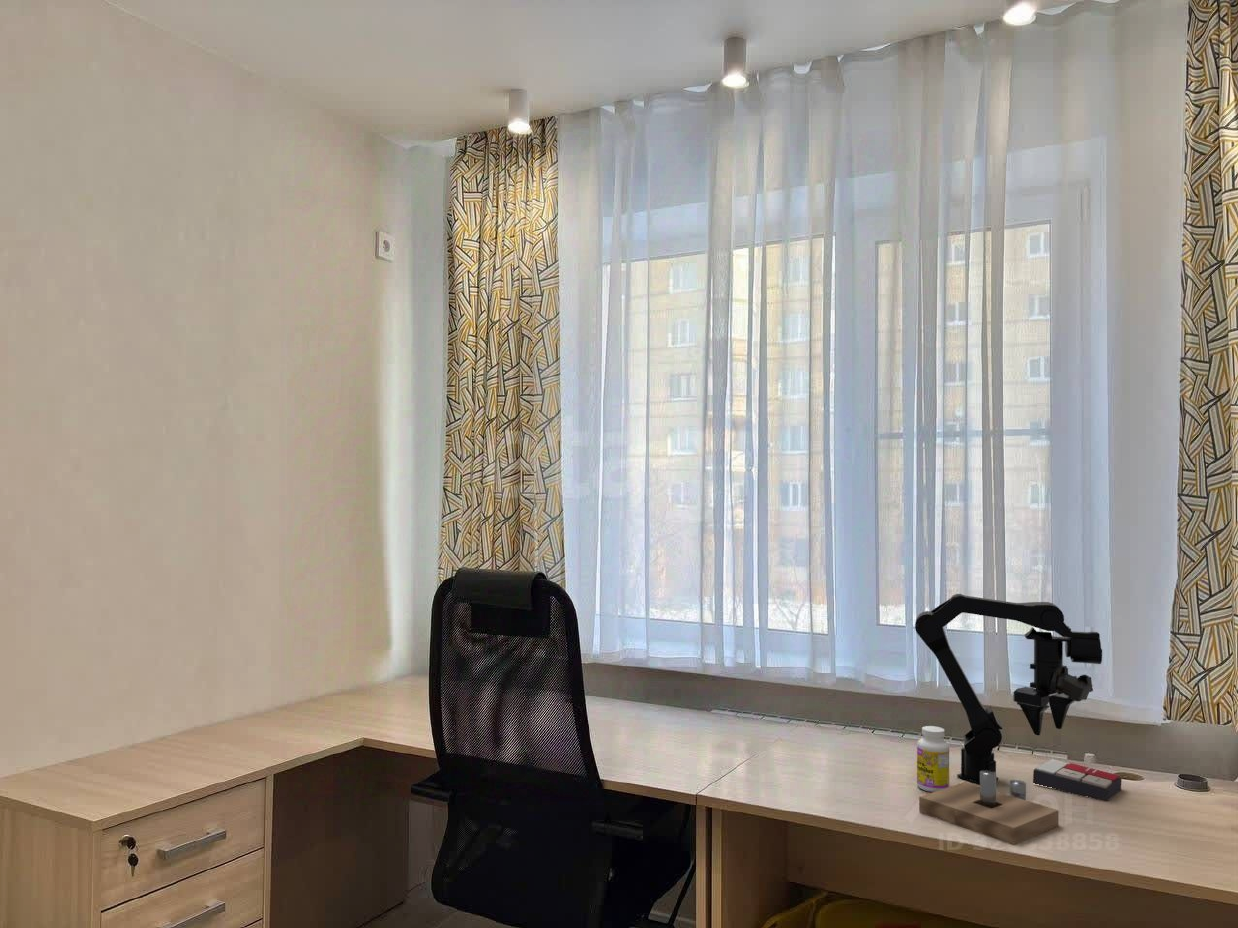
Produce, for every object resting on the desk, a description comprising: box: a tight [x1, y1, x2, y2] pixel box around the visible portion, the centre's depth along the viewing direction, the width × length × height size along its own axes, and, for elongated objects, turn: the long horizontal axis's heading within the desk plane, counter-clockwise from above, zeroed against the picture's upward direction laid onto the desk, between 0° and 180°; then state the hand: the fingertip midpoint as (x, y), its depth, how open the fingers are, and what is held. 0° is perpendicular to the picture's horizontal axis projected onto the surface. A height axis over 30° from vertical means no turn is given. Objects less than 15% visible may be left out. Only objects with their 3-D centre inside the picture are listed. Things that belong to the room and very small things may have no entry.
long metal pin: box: [979, 770, 997, 809], centre depth 175 cm, size 3×3×9 cm
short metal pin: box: [1009, 779, 1027, 801], centre depth 184 cm, size 3×3×4 cm
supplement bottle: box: [916, 725, 950, 793], centre depth 193 cm, size 7×7×13 cm
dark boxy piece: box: [1032, 758, 1123, 802], centre depth 195 cm, size 11×4×15 cm
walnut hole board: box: [918, 781, 1060, 845], centre depth 175 cm, size 20×16×3 cm
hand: (1048, 731), depth 195 cm, fingers open, 9 cm apart
